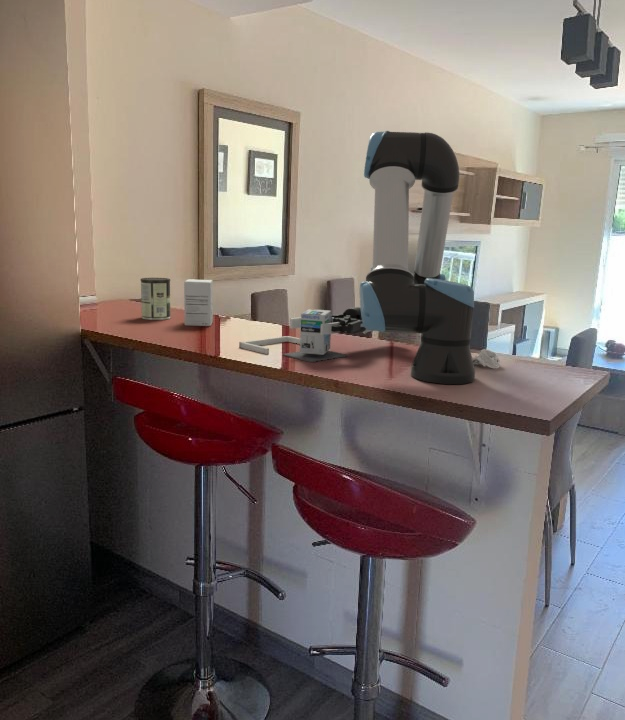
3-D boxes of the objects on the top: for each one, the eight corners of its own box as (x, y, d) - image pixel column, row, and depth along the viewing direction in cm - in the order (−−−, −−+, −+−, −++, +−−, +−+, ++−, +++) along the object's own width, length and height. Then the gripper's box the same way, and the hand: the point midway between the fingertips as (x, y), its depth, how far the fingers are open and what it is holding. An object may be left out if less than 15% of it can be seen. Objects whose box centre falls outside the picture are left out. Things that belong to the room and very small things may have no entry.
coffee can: (156, 315, 237) (155, 276, 234) (176, 318, 232) (176, 279, 229) (134, 317, 228) (134, 278, 225) (155, 321, 223) (155, 280, 220)
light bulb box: (323, 355, 168) (325, 314, 166) (298, 353, 170) (300, 313, 167) (330, 348, 179) (332, 309, 176) (307, 346, 180) (308, 308, 178)
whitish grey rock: (483, 365, 175) (484, 348, 175) (506, 368, 171) (506, 349, 170) (467, 367, 170) (468, 349, 169) (490, 369, 165) (491, 350, 164)
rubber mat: (347, 356, 175) (347, 354, 175) (311, 362, 166) (311, 361, 165) (318, 349, 183) (318, 348, 183) (282, 355, 173) (282, 354, 173)
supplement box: (187, 321, 225) (187, 278, 222) (213, 322, 225) (213, 279, 222) (183, 325, 216) (183, 281, 213) (210, 326, 216) (210, 282, 213)
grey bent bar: (314, 346, 187) (314, 341, 187) (266, 354, 174) (266, 348, 174) (287, 340, 195) (287, 335, 195) (239, 347, 182) (239, 342, 181)
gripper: (390, 338, 178) (337, 347, 163) (329, 327, 194) (275, 334, 178) (392, 312, 177) (339, 318, 161) (330, 302, 192) (276, 307, 177)
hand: (305, 326), depth 170 cm, fingers closed on light bulb box, 11 cm apart
